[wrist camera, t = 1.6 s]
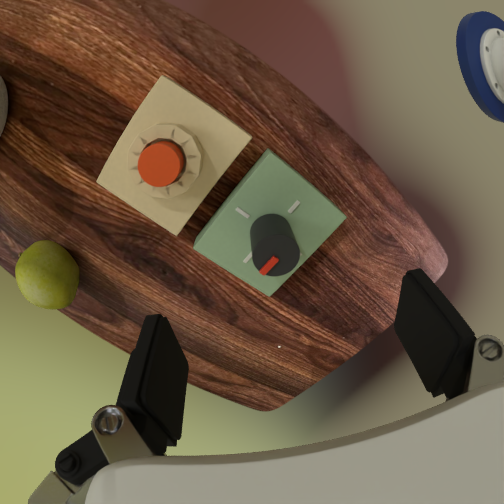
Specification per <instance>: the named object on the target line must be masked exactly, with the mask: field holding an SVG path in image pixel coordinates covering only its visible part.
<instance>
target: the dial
mask: <svg viewBox="0 0 504 504" xmlns="http://www.w3.org/2000/svg"><path fill="white" fill-rule="evenodd" d="M250 241H251V251H252V260H253V264H254V266H255V267H256V269H257V270H258V271H259V273H260V274H262V275H263V276H265V275H267V276H274V277H275V276H282V275H285V274H287V273H289V272H290V271H292V270H293V269H294V268H295V267H296V265H297V264H298V262H299V259H300V249H299V246H298V244H297V241H296V239H295V236H294V234H293V231H292V229H291V227H290V224H289V222H288V221H287V220H286V219H285V218H284V217H282V216H280V215H278V214H265V215H263V216H260V217H259V218H257V219H256V220H255V221H254V223H253V224H252V226H251V229H250Z"/></svg>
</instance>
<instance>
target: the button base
mask: <svg viewBox="0 0 504 504" xmlns="http://www.w3.org/2000/svg"><path fill="white" fill-rule="evenodd" d="M251 139H252V136H251V135H250V134H249V133H248V132H247V131H245V130H244V129H243V128H241V127H240V126H238V125H237V124H236V123H234V122H233V121H232V120H230V119H229V118H228V117H226V116H225V115H223V114H222V113H221V112H219V111H218V110H216V109H215V108H213V107H212V106H211V105H209V104H208V103H206V102H205V101H203V100H202V99H200V98H199V97H197V96H196V95H194V94H193V93H191V92H190V91H188V90H187V89H185V88H184V87H182V86H181V85H179V84H178V83H176V82H175V81H173V80H171V79H170V78H168V77H166V76H163V75H162V76H161V77H160V78H159V80H158V81H157V82H156V84H155V85H154V87H153V88H152V89H151V91H150V92H149V94H148V95H147V97H146V98H145V99H144V101H143V102H142V104H141V105H140V107H139V108H138V110H137V111H136V113H135V115H134V116H133V118H132V119H131V121H130V122H129V124H128V126H127V127H126V129H125V131H124V132H123V134H122V136H121V137H120V139H119V141H118V142H117V144H116V146H115V148H114V149H113V151H112V153H111V155H110V157H109V158H108V160H107V162H106V164H105V166H104V168H103V170H102V171H101V173H100V175H99V177H98V179H97V181H96V182H97V183H98V184H100V185H101V186H103V187H104V188H106V189H107V190H109V191H110V192H112V193H113V194H114V195H116V196H117V197H119V198H120V199H122V200H123V201H125V202H126V203H128V204H129V205H131V206H132V207H134V208H135V209H137V210H138V211H140V212H141V213H143V214H144V215H145V216H147V217H148V218H150V219H151V220H153V221H154V222H156V223H157V224H159V225H161V226H162V227H164V228H165V229H167V230H168V231H170V232H171V233H173V234H174V235H176V236H177V235H178V234H179V232H180V231H181V229H182V228H183V227H184V225H185V224H186V223H187V221H188V220H189V218H190V217H191V216H192V214H193V213H194V212H195V210H196V209H197V208H198V206H199V205H200V204H201V202H202V201H203V200H204V198H205V197H206V196H207V194H208V193H209V192H210V190H211V189H212V188H213V186H214V185H215V184H216V183H217V181H218V180H219V179H220V177H221V176H222V175H223V174H224V172H225V171H226V170H227V168H228V167H229V166H230V165H231V163H232V162H233V161H234V160H235V158H236V157H237V156H238V155H239V154H240V152H241V151H242V150H243V149H244V147H245V146H246V145H247V144H248V143H249V141H250V140H251ZM160 141H167V142H171V143H173V144H175V145H176V146H177V147H178V148H179V149H180V150H181V152H182V155H183V158H184V164H183V169H182V171H181V173H180V174H179V175H178V177H177V178H176V179H175V180H174V181H173V182H172V183H171V184H169V185H167V186H164V187H154V186H151V185H149V184H147V183H146V182H145V181H144V180H143V179H142V178H141V176H140V174H139V171H138V159H139V156H140V154H141V153H142V152H143V150H144V149H146V148H147V147H149V146H150V145H152V144H154V143H157V142H160Z"/></svg>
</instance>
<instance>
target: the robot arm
mask: <svg viewBox="0 0 504 504" xmlns="http://www.w3.org/2000/svg"><path fill="white" fill-rule="evenodd" d="M480 58H481V63H482V68H483V71H484V75H485V77H486V80H487V82H488V84H489V86H490V88H491V90H492V91H493V93H494V94H495V96H496V97H497V98H498V99H499V101H501V102H502V103H503V104H504V31H502V30H500V29H496V28H493V29H488V30H486V31H485V32H484V33H483V35H482V37H481V41H480ZM394 328H395V332H396V334H397V335H398V337H399V339H400V341H401V342H402V344H403V346H404V348H405V350H406V352H407V353H408V355H409V357H410V359H411V361H412V363H413V365H414V367H415V369H416V370H417V372H418V374H419V376H420V378H421V380H422V382H423V384H424V386H425V388H426V390H427V391H428V392H431V393H432V395H433V397H436V396H439V395H441V394H443V393H444V394H445V396H446V402H444V403H442V404H439V405H437V406H435V407H432V408H430V409H427V410H425V411H422V412H420V413H417V414H414V415H412V416H409V417H406V418H404V419H401V420H398V421H395V422H393V423H389V424H386V425H383V426H380V427H377V428H373V429H370V430H367V431H364V432H360V433H357V434H352V435H349V436H345V437H341V438H337V439H332V440H328V441H323V442H318V443H313V444H308V445H303V446H298V447H292V448H284V449H278V450H270V451H262V452H253V453H241V454H227V455H204V456H167V455H166V454H165V452H166V448H167V446H176V445H177V440H179V439H180V438H181V433H182V423H183V413H184V403H185V395H186V386H187V378H188V370H189V366H188V361H187V359H186V357H185V355H184V353H183V351H182V349H181V347H180V345H179V343H178V341H177V338H176V336H175V334H174V332H173V330H172V328H171V325H170V323H169V321H168V319H167V318H166V317H163V316H162V315H161V314H155V315H147V316H146V318H145V320H144V323H143V326H142V329H141V332H140V335H139V338H138V341H137V344H136V348H135V349H134V350H133V351H132V353H131V355H130V358H129V362H128V365H127V368H126V371H125V375H124V378H123V381H122V385H121V388H120V392H119V395H118V399H117V403H116V405H108V406H104V407H102V408H100V409H99V410H98V411H97V412H96V413H95V415H94V416H93V419H92V423H91V427H92V430H91V431H90V432H89V433H87V434H86V435H84V436H83V437H81V438H80V439H78V440H77V441H75V442H74V443H73V444H71V445H70V446H68V447H67V448H65V449H64V450H62V451H61V452H60V453H59V454H58V456H57V458H56V461H55V468H56V471H55V472H53V471H51V472H50V473H49V474H48V475H47V476H46V478H45V479H44V480H43V481H42V483H41V484H40V485H39V486H38V487H37V489H36V490H35V491H34V492H33V494H32V495H31V496H30V498H29V500H28V504H504V345H503V343H502V342H501V341H500V340H499V339H498V338H496V337H494V336H492V335H483V336H481V337H479V338H478V339H477V338H476V337H475V336H474V335H475V334H474V332H473V331H472V329H471V328H470V327H469V326H468V324H467V323H466V322H465V320H464V319H463V318H462V317H461V315H460V314H459V313H458V311H457V310H456V309H455V308H454V306H453V305H452V304H451V303H450V302H449V300H448V299H447V298H446V297H445V296H444V294H443V293H442V292H441V291H440V290H439V288H438V287H437V286H436V285H435V284H434V283H433V281H432V280H431V279H430V278H429V277H428V276H427V275H426V274H425V272H424V271H423V270H422V269H420V268H418V269H414V270H410V271H407V273H406V275H405V276H403V279H402V286H401V292H400V297H399V303H398V308H397V313H396V318H395V323H394Z"/></svg>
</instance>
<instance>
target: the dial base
mask: <svg viewBox="0 0 504 504" xmlns="http://www.w3.org/2000/svg"><path fill="white" fill-rule="evenodd" d="M265 214H278V215H280V216H282V217H284V218H285V219H286V220H287V221H288V222H289V224H290V227H291V229H292V231H293V234H294V236H295V239H296V241H297V244H298V246H299V249H300V259H299V262H298V264H297V265H296V267H295V268H294V269H293V270H292V271H290V272H289V273H287V274H285V275H282V276H275V277H274V276H267V275H265V276H263V275H262V274H260V273H259V271H258V270H257V269H256V267H255V266H254V264H253V260H252V251H251V241H250V229H251V226H252V224H253V223H254V221H255V220H256V219H257V218H259V217H260V216H263V215H265ZM346 218H347V217H346V216H345V214H344V213H343V212H342V211H341V210H340V209H339V208H338V207H337V206H336V205H335V204H334V203H333V202H332V201H330V200H329V199H328V198H327V197H326V196H325V195H324V194H323V193H321V192H320V191H319V190H318V189H317V188H316V187H315V186H313V185H312V184H311V183H310V182H309V181H308V180H306V179H305V178H304V177H303V176H302V175H300V174H299V173H298V172H297V171H296V170H295V169H293V168H292V167H291V166H290V165H288V164H287V163H286V162H285V161H284V160H282V159H281V158H280V157H279V156H277V155H276V154H275V153H274V152H272V151H271V150H270V149H269V148H268V149H267V150H266V151H265V152H264V153H263V154H262V156H261V157H260V158H259V159H258V160H257V162H256V163H255V164H254V165H253V166H252V168H251V169H250V170H249V171H248V172H247V174H246V175H245V176H244V177H243V179H242V180H241V181H240V182H239V183H238V185H237V186H236V187H235V188H234V190H233V191H232V192H231V193H230V195H229V196H228V197H227V198H226V200H225V201H224V202H223V203H222V205H221V206H220V207H219V208H218V210H217V211H216V212H215V214H214V215H213V216H212V217H211V219H210V220H209V221H208V223H207V224H206V225H205V226H204V228H203V229H202V230H201V232H200V233H199V234H198V236H197V237H196V240H195V243H194V247H193V249H195V250H196V251H198V252H199V253H201V254H202V255H204V256H205V257H207V258H209V259H210V260H212V261H213V262H215V263H216V264H218V265H220V266H221V267H223V268H224V269H226V270H227V271H229V272H231V273H232V274H234V275H235V276H237V277H239V278H240V279H242V280H243V281H245V282H247V283H248V284H250V285H251V286H253V287H255V288H256V289H258V290H259V291H261V292H263V293H264V294H266V295H268V296H269V297H270V296H271V295H272V294H273V293H274V292H275V291H276V290H277V289H278V288H279V287H280V286H281V285H282V284H283V283H284V282H285V281H286V280H287V279H288V278H289V277H290V276H291V275H292V274H293V273H294V272H295V271H296V270H297V269H298V268H299V267H300V266H301V265H302V264H303V263H304V262H305V261H306V260H307V259H308V258H309V257H310V256H311V255H312V254H313V252H314V251H315V250H316V249H317V248H318V247H319V246H320V245H321V244H322V243H323V242H324V241H325V240H326V239H327V238H328V237H329V236H330V235H331V234H332V233H333V232H334V231H335V230H336V228H337V227H338V226H339V225H340V224H341V223H342V222H343V221H344V220H345V219H346Z"/></svg>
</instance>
